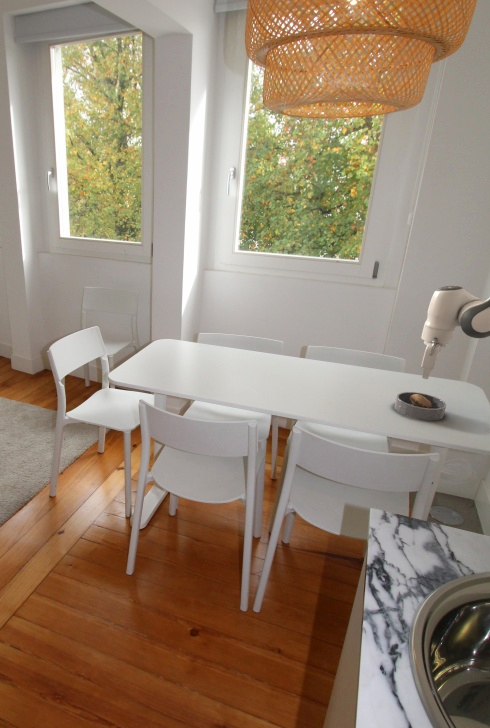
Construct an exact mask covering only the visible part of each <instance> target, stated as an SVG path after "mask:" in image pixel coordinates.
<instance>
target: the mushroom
mask: <svg viewBox="0 0 490 728" xmlns="http://www.w3.org/2000/svg"><path fill="white" fill-rule="evenodd" d="M410 400H411V401H412V404H411V405H413V406H416V407H421V408H428V409H432V404H431V402H430V401H429V400H428V399H426V398H425V397H424V396H422V395H419V394H413V395H411V396H410Z"/></svg>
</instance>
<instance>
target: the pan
mask: <svg viewBox="0 0 490 728" xmlns="http://www.w3.org/2000/svg"><path fill="white" fill-rule="evenodd" d="M413 394H419V395H422V396H424V397H425V398H426V399H428V400H429V401H430V402H431V404H432V409H428V408H421V407H416V406H413V405H411V404H412V401H411V400H410V396H411V395H413ZM446 408H447V403H446V401H444V400H443V399H441V398H439V397H437V396H434V395H431V394H427V393H423V392H415V391H404V392H400V393H398V394H397V395H396V398H395V402H394V410H396V412H398V413H400V414H402V415H403V416H407V417H410V418H413V419H417V420H421V421H422V420H423V421H439V420H442V419H443V418H444V415H445V412H446Z"/></svg>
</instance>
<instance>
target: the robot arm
mask: <svg viewBox="0 0 490 728" xmlns="http://www.w3.org/2000/svg"><path fill="white" fill-rule="evenodd" d="M457 327H460V328H461V330H462V332H463V333H464V334H465V335H466V336H467V337H469V338H473V339H485V338H488V337H490V297H489V298H488V299H482V298H480V297H477V296H476V295H473V294H472V293H470V292H469V291H467V290H465V289H464V287H463V286H458V285H447V286H441V287H438V288H437V289H435V291H434V292H433V294H432V296H431V299H430V301H429V305H428V309H427V318H426V320H425V321H424V325H423V328H422V332H421V336H420V339H421V340H423V341H424V342H423V344H424V345H425V346H426V347H425V350H424V353H423V357H422V361H421V365H420V366H421V368H422V369H423V371H422V376H421V378H422V379H423V380H428V379H429V377H430V374H431V372H432V370H434V369H435V367H436V365H437V362H438V359H439V357H440V354H441V352H442V349H443V348H446V346H447V345H450V344H451V343H452V341H453V338H454V334H455V330H456V328H457Z"/></svg>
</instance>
